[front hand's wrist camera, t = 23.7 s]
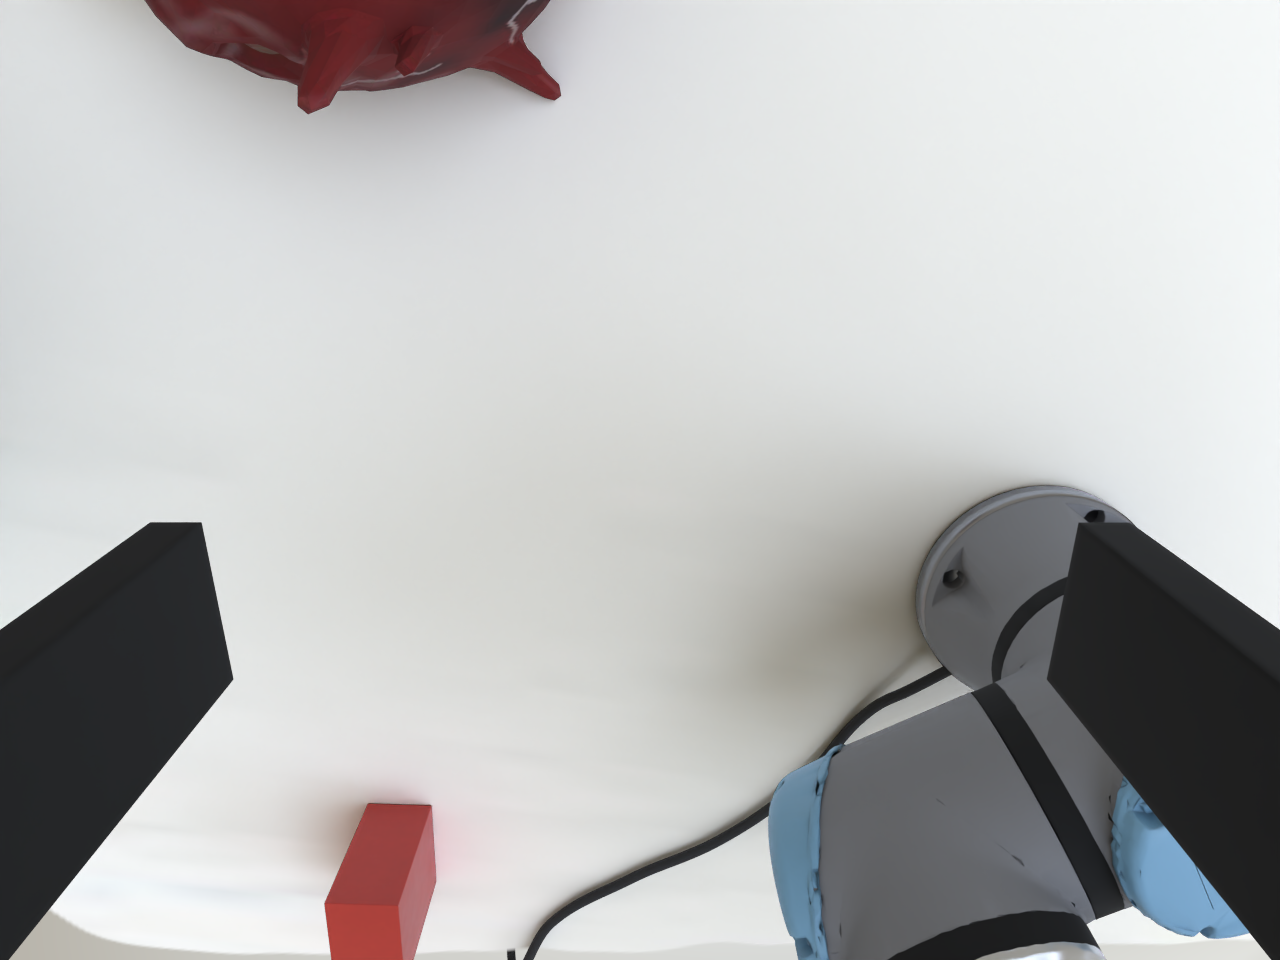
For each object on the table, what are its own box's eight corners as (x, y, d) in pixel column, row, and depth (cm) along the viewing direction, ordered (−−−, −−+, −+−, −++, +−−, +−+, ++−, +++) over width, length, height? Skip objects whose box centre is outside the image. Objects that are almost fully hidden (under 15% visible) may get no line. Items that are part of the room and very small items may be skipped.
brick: (431, 805, 63) (398, 905, 54) (436, 881, 66) (405, 988, 57) (367, 803, 63) (323, 903, 54) (375, 879, 66) (334, 986, 57)
